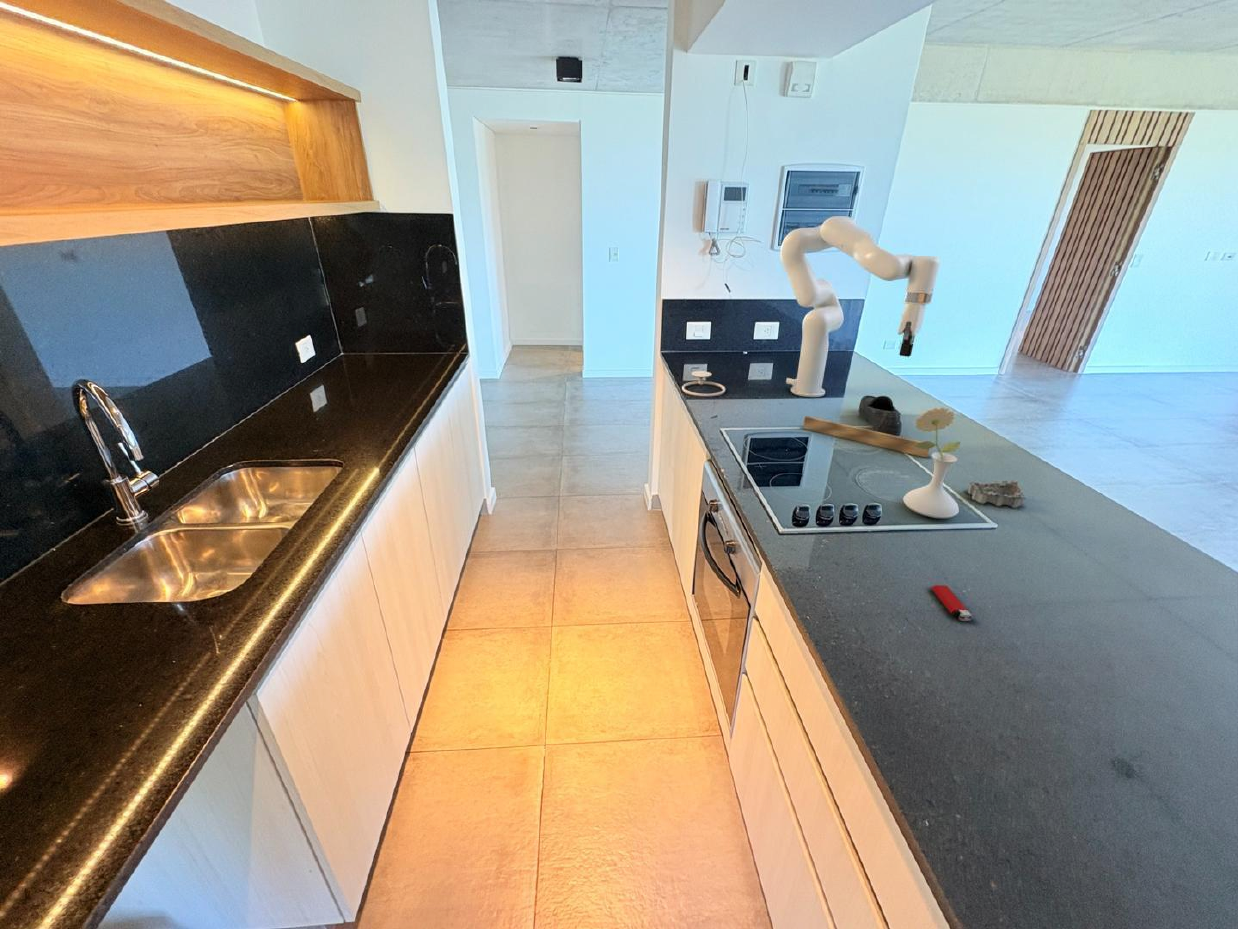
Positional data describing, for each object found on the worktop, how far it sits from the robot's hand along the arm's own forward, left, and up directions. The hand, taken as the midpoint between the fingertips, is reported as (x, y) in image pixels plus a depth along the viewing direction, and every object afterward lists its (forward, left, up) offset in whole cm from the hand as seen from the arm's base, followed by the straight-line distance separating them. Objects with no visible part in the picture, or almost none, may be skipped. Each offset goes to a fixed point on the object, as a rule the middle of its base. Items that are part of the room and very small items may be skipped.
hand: (904, 355), depth 175 cm
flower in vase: (+24, -66, -20) cm, 73 cm away
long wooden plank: (0, -33, -20) cm, 39 cm away
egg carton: (+36, -50, -20) cm, 65 cm away
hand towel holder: (-65, -17, -20) cm, 70 cm away
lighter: (+35, -100, -20) cm, 108 cm away
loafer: (0, -15, -20) cm, 25 cm away
